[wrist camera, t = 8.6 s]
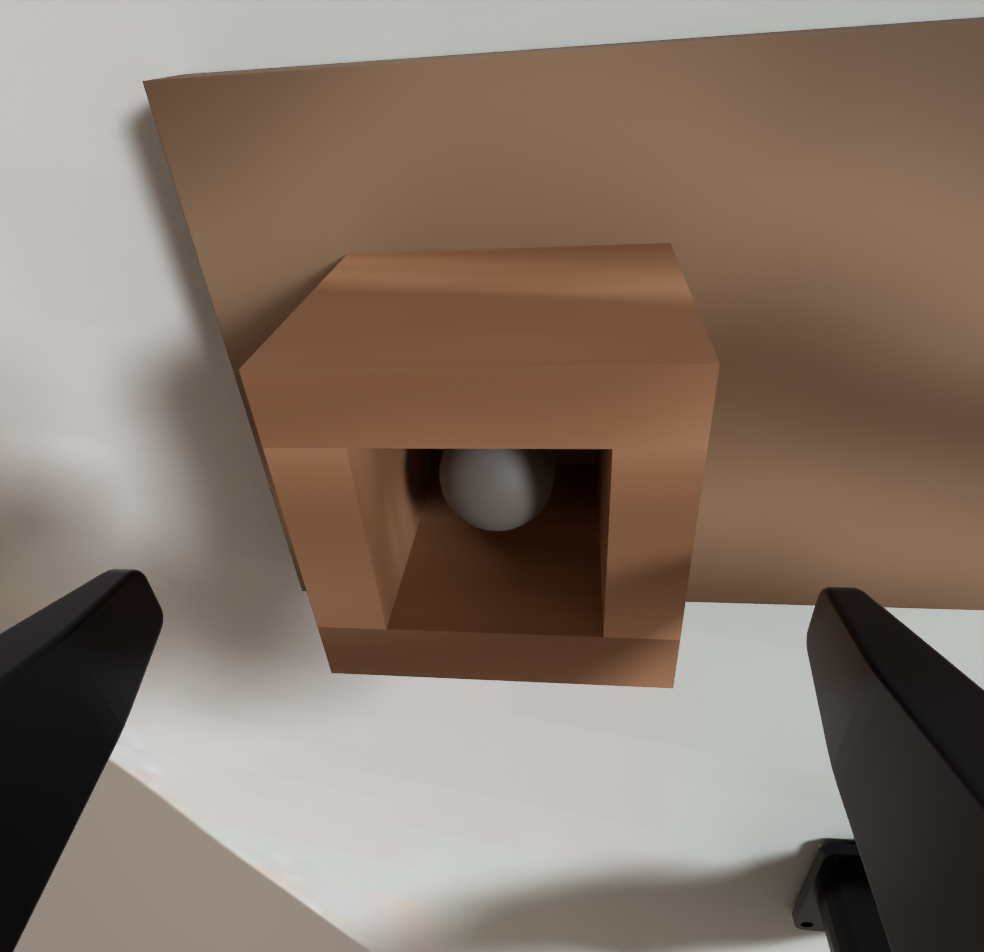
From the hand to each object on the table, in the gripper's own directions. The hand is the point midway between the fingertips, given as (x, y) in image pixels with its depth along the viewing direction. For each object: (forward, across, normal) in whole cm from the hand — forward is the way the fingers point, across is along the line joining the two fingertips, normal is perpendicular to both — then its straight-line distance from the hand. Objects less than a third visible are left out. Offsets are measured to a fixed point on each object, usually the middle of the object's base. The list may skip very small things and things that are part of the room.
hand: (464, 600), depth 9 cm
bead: (+6, 0, 0) cm, 6 cm away
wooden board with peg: (+8, -3, 0) cm, 8 cm away
